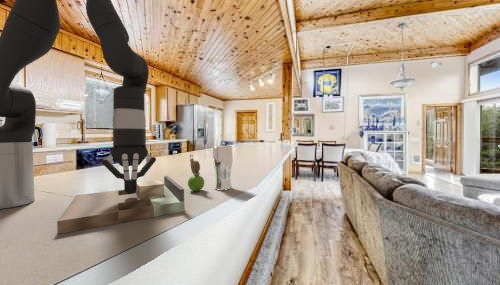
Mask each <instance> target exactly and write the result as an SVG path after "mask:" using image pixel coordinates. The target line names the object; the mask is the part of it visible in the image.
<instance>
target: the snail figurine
mask: <svg viewBox="0 0 500 285" xmlns="http://www.w3.org/2000/svg"><path fill="white" fill-rule="evenodd" d="M189 157H190V160H189V161H190V170H191V174H193V175H191V176H190V177H189V179H188V181H187V186H188V188H189V189H190V191H193V192H198V191H199V192H200V191H201V190H202V189H203V188H204V186H205V179H204V178H203V176H201V175H200V169H201V164H200V161H199V160H197V159H196V160H194V158H193V157H194V154H190V155H189Z"/></svg>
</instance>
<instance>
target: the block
mask: <svg viewBox="0 0 500 285" xmlns="http://www.w3.org/2000/svg"><path fill="white" fill-rule="evenodd" d="M136 194H137V195H138V196H139V198H145V197H152V196H158V195H164V182H162V181H160V180H149V181H142V182H137V190H136Z"/></svg>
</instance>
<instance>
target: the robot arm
mask: <svg viewBox="0 0 500 285" xmlns="http://www.w3.org/2000/svg"><path fill="white" fill-rule="evenodd" d="M85 1H86V2H85V12H86V16H87V19H88V21H89V23H90V25H91V28H92V29H93V30H94V33H95V34H96V36H97V39H99V44H100V48H101V52H102V56H103V59H104V61H105V62H106V63H105V64H106V65H107V67H109V69H110V70H111V71H112V72H114V74H117V75H119V76H121V77H123V79H122V84H121V85H120V86H119V85H118V86H116V87H115V88H114V90H113V113H112V114H113V115H112V150H111V152H110V155H109V156H107V157H106V158H103V159H102V160H101V164H102V165H103V166H104V167H105V168H106V169H107V170H108V171H109V172H110V174H112V175H114V176H113V177H115V178H116V179H121V180H123V181H124V182H123V185H124V186H123V187H124V189H123V190H124V191H125V192H127V193H128V194H134V191H136V190H137V183H138V181H137V180H138V178H141V177H144V176H145V175H146V174H147V173H148V171H149V170H150V169H151V167H152V166H153V165H154V164H155V162H156V161H157V159H156V157H154V156H152V155H151V154H149V151H148V149H147V134H146V132H147V129H146V127H147V126H146V125H147V124H146V121H147V120H146V115H145V93H146V90H147V86H148V80H149V65H148V62H147V60H146V59H145V58H144V57H143V56H142V55H140V54H139V53H137V52H135V51H134V50H133V49H132V47H131V46H130V45H129V42H130V35H129V33H128V31H127V28H126V27H125V25H124V23H123V21H122V19H121V18H120V16H119V13H118V12H117V10H116V8H115V6H114V4H113V2H112V0H85ZM57 2H58V1H57V0H14V3H13V4H12V6H11V8H10V10H9V13H8V15H7V17H6V19H5V22H4V24H3V27H2V30H1V32H0V118H5V119H4V123H3V124H2V125H1V126H0V209H9V208H14V207H19V206H25V205H27V204H31V203H33V202H35V200H36V199H35V182H34V181H35V177H34V176H35V171H34V170H35V169H34V152H33V151H34V150H33V149H34V148H33V137H34V134H35V130H36V116H37V114H36V112H37V101H36V99H35V98H36V97H35V95H34V93H33V92H32V91H31V89H29V88H27V87H25V86H21V85H17V84H12V83H13V81H14V79H15V77H16V76H17V74H18V73H19V72H20V71H21V70H23V69H24V68H26V67H28V65H30V64H31V63H33V62H35V61H38V60H39V59H41V58H42V57H44V56H45V55H47V54H48V53H49V52H50V51H51V49H52V47H53V46H54V44H55V42H56V39H57V37H58V35H59V33H60V30H61V19H60V13H59V12H60V11H59V7H58V3H57ZM113 159H114V160H115V162H116V163H117V164H118V165H119V166H121V167H122V169H123V173H122V172H120V171H119V170H118V169H117V167H115V165H114V160H113ZM144 160H145V162H146V163H144V165H143V167H142V168H141V169H140V170H138V168H139V166H140V165H141V164H142V162H143V161H144ZM129 167H131V173H130V169H129ZM130 174H131V176H130Z"/></svg>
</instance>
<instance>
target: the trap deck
mask: <svg viewBox="0 0 500 285" xmlns="http://www.w3.org/2000/svg"><path fill="white" fill-rule="evenodd" d="M163 181H164V182H163V184H164V195H158V196H152V197H145V198H139V196H138V195H137V194H136V191H134V194H128V193H127V192H125V191H124V189H118V190H109V191H101V192H93V193H83V194H76V195H75V196H74V198H73V199H72V200H71V201H70V203H69V204H68V206H67V207H66V208H65V209H64V211H63V213H62V214H61V215H60V217H59V218H58V220H57V221H56V224H57V225H56V226H57V230H56V231H57V235H62V234H66V233H71V232H77V231H78V232H79V231H82V230H88V229H94V228H99V227H104V226H110V225H115V224H121V223H122V224H123V223H126V222H132V221H133V222H134V221H139V220H143V219H148V218H154V217H160V216H165V215H170V214H171V215H172V214H176V213H183V212H185V188H183V187H182V186H181V185H180V184H178V182H176V181H174V180H173V178H171V177H169V176H168V175H164V176H163Z"/></svg>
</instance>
